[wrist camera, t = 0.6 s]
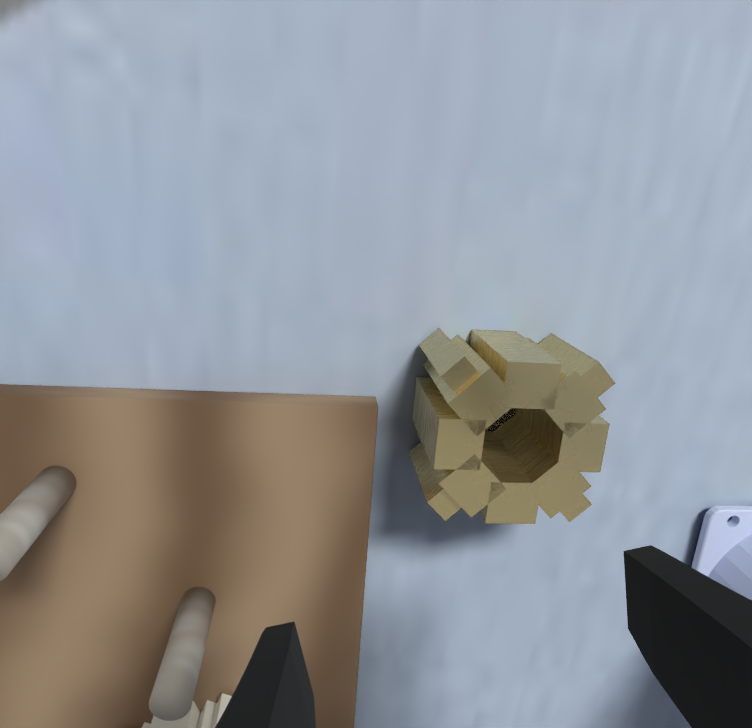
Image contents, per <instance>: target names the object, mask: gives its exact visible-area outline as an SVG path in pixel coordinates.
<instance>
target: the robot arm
mask: <svg viewBox="0 0 752 728" xmlns="http://www.w3.org/2000/svg"><path fill="white" fill-rule="evenodd" d="M731 516H733V517H732V518H731V520H729V521H728V519H729V518H730V517H731ZM727 521H728V522H727ZM624 564H625V581H626V599H627V616H628V629H629V631H630V633H631V634H632V636H633V638H634V640H635V642H636V644H637V646H638V647H639V649H640V651H641V653H642V655H643V656H644V658H645V660H646V662H647V663H648V665H649V667H650V669H651V670H652V672H653V674H654V675H655V677H656V678H657V680H658V681H659V682H660V684H661V685H662V687H663V688H664V689H665V691H666V692H667V694H668V695H669V696H670V698H671V699H672V701H673V702H674V703H675V705H676V706H677V708H678V709H679V710H680V712H681V713H682V715H683V716H684V717H685V719H686V720H687V721H688V723H689V724H690V726H691V727H692V728H752V506H714V507H712V508H710V509H709V510H708V511H707V512H706V514H705V516H704V519H703V523H702V527H701V531H700V535H699V539H698V543H697V547H696V551H695V555H694V559H693V563H692V567H690V566H688V565H686V564H684V563H683V562H681V561H679V560H677V559H675V558H674V557H672V556H670V555H668V554H666V553H665V552H663V551H661V550H659V549H657V548H655V547H653V546H651V545H650V546H646V547H641V548H636V549H632V550H627V551H624ZM215 728H316V721H315V703H314V694H313V691H312V687H311V683H310V679H309V675H308V671H307V668H306V664H305V660H304V656H303V652H302V648H301V645H300V641H299V637H298V633H297V629H296V625H295V622H289V623H284V624H280V625H275V626H270V627H266V628H265V629H264V631H263V632H262V634H261V636H260V638H259V641H258V643H257V645H256V648H255V650H254V652H253V654H252V656H251V659H250V661H249V663H248V665H247V667H246V669H245V671H244V673H243V675H242V677H241V680H240V682H239V684H238V686H237V687H236V689H235V691H234V693H233V695H232V697H231V699H230V701H229V703H228V705H227V707H226V709H225V711H224V712H223V714H222V716H221V718H220V720H219V722H218V723H217V725H216V727H215Z"/></svg>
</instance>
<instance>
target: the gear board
mask: <svg viewBox="0 0 752 728" xmlns="http://www.w3.org/2000/svg"><path fill="white" fill-rule="evenodd" d="M377 418H378V404H377V401H376V397H364V396H334V395H304V394H274V393H244V392H214V391H184V390H154V389H124V388H94V387H64V386H34V385H4V384H0V728H142V726H143V724H144V722H146V723H150V724H151V722H152V719H153V715H154V716H155V717H157V718H159V719H162V720H166V721H174V720H178V719H181V718H183V717H184V716H186V715H187V714H188V712H189V711H190V709H191V705H192V701H194V702H195V704H196V706H197V708H198V710H199V711H200V713H201V711H202V709H203V707H204V705H205V703H206V701H207V700H209V701H212V702H215V703H217V702H218V700H219V698H220V696H221V694H222V693H223V694H227V695H230V696H232V695H233V693H234V691H235V689H236V687H237V686H238V684H239V682H240V680H241V677H242V675H243V673H244V671H245V669H246V667H247V665H248V663H249V661H250V659H251V656H252V654H253V652H254V650H255V648H256V645H257V643H258V641H259V638H260V636H261V634H262V632H263V631H264V629H265V628H266V627H270V626H275V625H280V624H284V623H289V622H295V625H296V629H297V633H298V637H299V641H300V645H301V648H302V652H303V656H304V660H305V664H306V668H307V671H308V675H309V679H310V683H311V687H312V691H313V694H314V703H315V721H316V728H354V716H355V703H356V690H357V677H358V664H359V651H360V638H361V626H362V613H363V600H364V587H365V574H366V561H367V548H368V535H369V522H370V509H371V496H372V483H373V470H374V457H375V444H376V431H377Z"/></svg>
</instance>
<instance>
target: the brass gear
mask: <svg viewBox="0 0 752 728" xmlns="http://www.w3.org/2000/svg"><path fill="white" fill-rule="evenodd" d="M419 346H420V347H421V349H422V350H423V352H424V353H425V355H426V356H427V358H428V360H427V361H426V362H425V363H424V364H423V365H424V367H425V368H426V370H427V372H428V373H429V375H430V376H431V377H416V385H415V395H414V406H413V416H412V420H413V422H414V424H415V427H416V429H417V431H416V432H417V434H418V436H419V439H420V441H421V442H420V443H419V444H418V445H417V446H416V447H414V448H413V449H412V450H411V451H410V452H409V454H410V457H411V460H412V462H413V465H414V468H415V471H416V473H417V476H418V479H419V482H420V484H421V487H422V490H423V493H424V495H425V498H426V501H427V503H428V504H429V505H430V506H431V507H432V508H433V509H434V510H435V511H436V512H437V513H438V514H439V515H440V516H441V517H442V518H443V519H444V520H445V521H446V520H447V519H448V518H450V517H451V516H452V515H453V514H455V513H456V512H457V511H458V510H460V509H461V508H463V510H464V511H465V512H466V513H467V514H468V515H469V516H470V517H473V516H474V515H475V514H476V513H478V512H480V514H481V516H482V518H483V520H484V522H485V523H504V524H535V522H536V516H537V510H538V505H539V506H540V507H541V508H542V509H543V510H544V511H545V513H546V514H547V515H548V516H549V517H550V518H552V517H553V516H554V515H556V514H557V513H558V512H559V511H560V512H561V513H562V514H563V515H564V516H565V518H566V519H567V520H568V521H569V522H570V521H572V520H573V519H574V518H575V517H577V516H578V515H579V514H580V513H582V512H583V511H584V510H586V509H587V508H588V507H589V506H591V505H592V504H591V503H590V502H589V500H588V499H587V498H586V497H585V496H584V495H583V492H585V491H586V490H587V489H588V488H590V487H591V485H590V484H589V483H588V482H587V480H586V479H585V478H584V477H583V476H582V474H581V473H580V472H600V471H601V465H602V460H603V455H604V450H605V445H606V440H607V434H608V429H609V423H608V422H607V421H605V420H604V419H603V418H602V417H600V416H599V414H600V413H602V412H603V411H604V410H605V409H606V408H605V407H604V405H603V404H602V403H601V402H600V400H599V399H598V397H599V396H600V395H602V394H603V393H604V392H605V391H606V390H608V389H609V388H610V387H611V386H613V385H614V384H615V382H614V381H613V380H612V378H611V377H610V376H609V374H608V373H607V372H606V371H605V369H604V368H603V367H602V365H601V364H600V363H599V362H598V361H597V360H595V359H593V358H592V357H590V356H588V355H587V354H585V353H583V352H582V351H580V350H578V349H577V348H575V347H573V346H572V345H570V344H568V343H567V342H565V341H564V340H562V339H560V338H559V337H557V336H555V335H554V334H552V333H551V334H550V335H549V336H547V337H546V338H545V339H544V340H543V341H541V342H540V343H539V344H536V343H535V342H534V341H532V340H531V339H529V338H527V339H526V338H524V337H523V336H521V335H520V334H518V333H517V332H512V331H491V330H472V331H471V340H470V346H469V345H468V344H467V343H466V342H465V341H464V340H463V339H462V338H461V337H460V336H459V335H457V336H455V337H454V338H453V339H452V340H451V341H450V340H449V338H448V337H447V336H446V335H445V334H444V333H443V332H442V331H441V330H440V328H438V329H437V330H436V331H435V332H433V333H432V334H431V335H430V336H429V337H428V338H426V339H425V340H424V341H423V342H422V343H421V344H419ZM511 408H516V410H515V415H513V416H512V417H511V418H510V419H509V420H507V421H506V422H505V423H504V424H503V425H501V426H500V427H499V428H498V429H496V430H495V431H494V432H492V431H485V430H486V429H487V428H488V427H489V426H490V425H492V424H493V423H494V422H495V421H496V420H498V419H499V418H500V417H501V416H503V415H504V414H505V413H506V412H507V411H509V410H510V409H511Z"/></svg>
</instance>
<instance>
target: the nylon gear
mask: <svg viewBox="0 0 752 728" xmlns="http://www.w3.org/2000/svg"><path fill="white" fill-rule="evenodd" d="M231 697H232V696H230V695H227V694H223V693H222V694H221V696H220V698H219V700H218V702H217V703H215V702H212V701H209V700H207V701H206V703H205V705H204V707H203V709H202V711H201V713H200V711H199V710H198V708H197V706H196V704H195V702H194V701H192V705H191V709H190V711H189V712H188V714H187V715H186V716H184V717H183V718H181V719H178V720H174V721H166V720H162V719H159V718H157V717H155V716H154V715H153V719H152V722H151V724H150V723H146V722H144V724H143V726H142V728H215V727H216V725H217V723H218V722H219V720H220V718H221V716H222V714H223V712H224V711H225V709H226V707H227V705H228V703H229V701H230V699H231Z"/></svg>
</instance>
